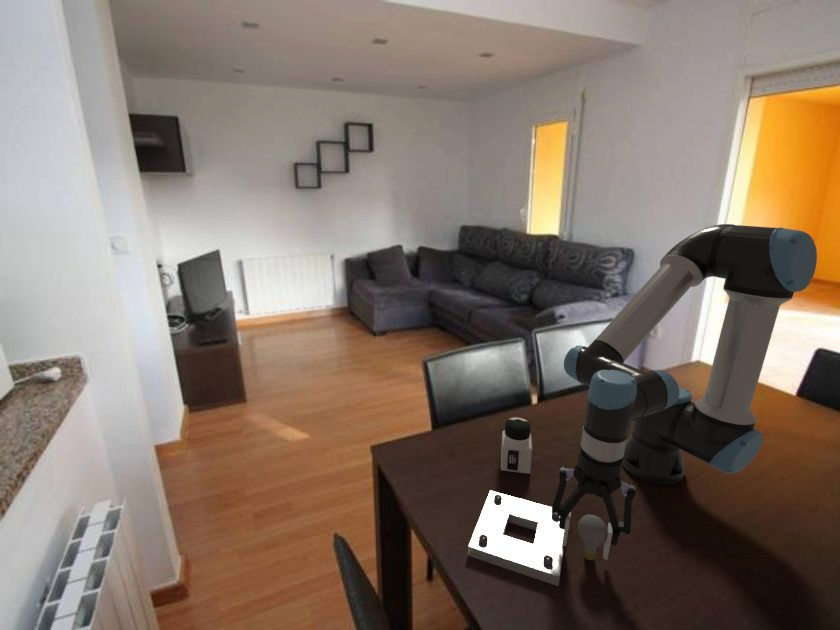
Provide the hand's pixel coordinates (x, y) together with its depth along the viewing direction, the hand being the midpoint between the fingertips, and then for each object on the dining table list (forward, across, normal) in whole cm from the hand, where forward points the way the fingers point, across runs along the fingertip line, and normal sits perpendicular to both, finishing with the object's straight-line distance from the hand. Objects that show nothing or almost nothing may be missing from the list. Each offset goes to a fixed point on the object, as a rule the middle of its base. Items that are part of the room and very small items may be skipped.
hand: (584, 547), depth 87 cm
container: (+3, +19, -25) cm, 32 cm away
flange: (+3, +13, 0) cm, 13 cm away
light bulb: (+3, -1, 0) cm, 3 cm away
